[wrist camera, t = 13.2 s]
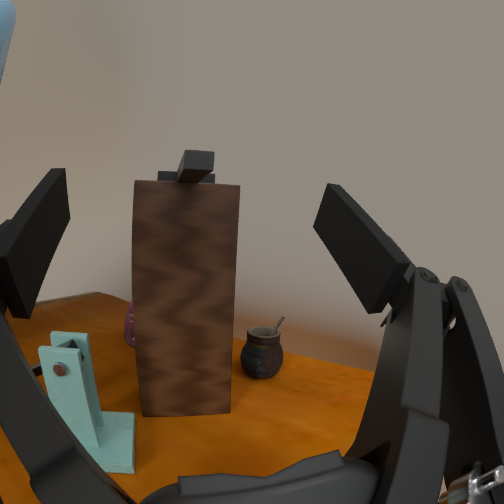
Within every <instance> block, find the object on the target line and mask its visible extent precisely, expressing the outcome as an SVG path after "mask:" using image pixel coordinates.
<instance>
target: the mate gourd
mask: <svg viewBox="0 0 504 504" xmlns="http://www.w3.org/2000/svg"><path fill="white" fill-rule="evenodd" d="M283 320H284V317H281V319H280V320H279V321H278V323H277V325H276V326H275V327H274V328H272V327H268V326H255V327H251V328H249V329H248V330H247V341H246V344H245V345H244V347H243V349H242V352H241V357H240V358H241V363H242V367H243V369H244V370H245V372H246V373H248V374H249V375H250V376H252V377H255V378H268V377H270V376H273V375H275V374H276V373H277V372H278V371H279V369H280V367H281V365H282V362H283V351H282V347H281V344H280V343H279V341H280V332H279V331H278V330H277V328H278V327H279V325H280V324H281V322H282V321H283Z"/></svg>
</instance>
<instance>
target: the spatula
mask: <svg viewBox="0 0 504 504" xmlns="http://www.w3.org/2000/svg"><path fill="white" fill-rule="evenodd" d="M213 166H214V152H211V151H198V150H185V151H184V154H183V157H182V159H181V162H180V165H179V168H178V170H177V172H172V171H158V179H157V181H175V182H196V183H212V184H215V174H209V173H210V172H212V171H213Z"/></svg>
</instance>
